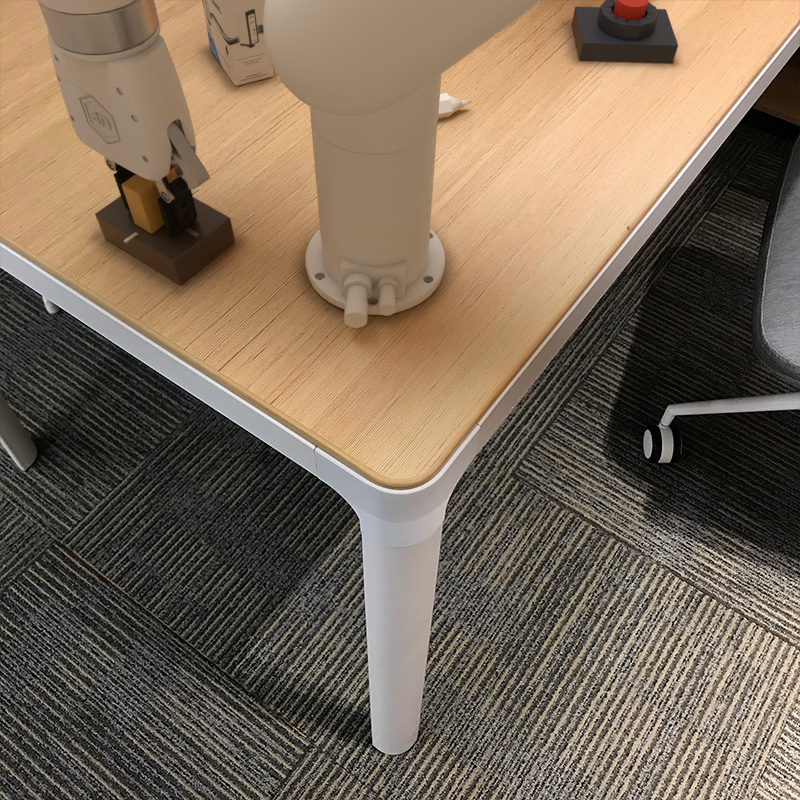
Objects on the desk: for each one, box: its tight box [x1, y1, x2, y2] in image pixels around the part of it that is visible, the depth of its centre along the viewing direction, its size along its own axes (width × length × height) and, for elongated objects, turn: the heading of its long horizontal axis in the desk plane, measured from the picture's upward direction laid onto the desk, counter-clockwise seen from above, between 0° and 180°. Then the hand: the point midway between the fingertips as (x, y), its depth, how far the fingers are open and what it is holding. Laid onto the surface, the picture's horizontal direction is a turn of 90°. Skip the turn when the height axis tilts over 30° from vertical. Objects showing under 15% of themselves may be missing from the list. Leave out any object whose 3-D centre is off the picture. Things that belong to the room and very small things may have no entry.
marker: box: [438, 92, 473, 120], centre depth 81 cm, size 3×2×16 cm
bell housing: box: [571, 0, 679, 64], centre depth 90 cm, size 8×11×4 cm
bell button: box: [613, 0, 650, 20], centre depth 88 cm, size 4×4×2 cm
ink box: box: [201, 0, 274, 87], centre depth 83 cm, size 9×5×12 cm, turn 27°
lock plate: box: [94, 187, 236, 287], centre depth 70 cm, size 10×9×3 cm
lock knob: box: [122, 167, 178, 234], centre depth 67 cm, size 5×2×5 cm, turn 144°
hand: (161, 212), depth 68 cm, fingers open, 4 cm apart
